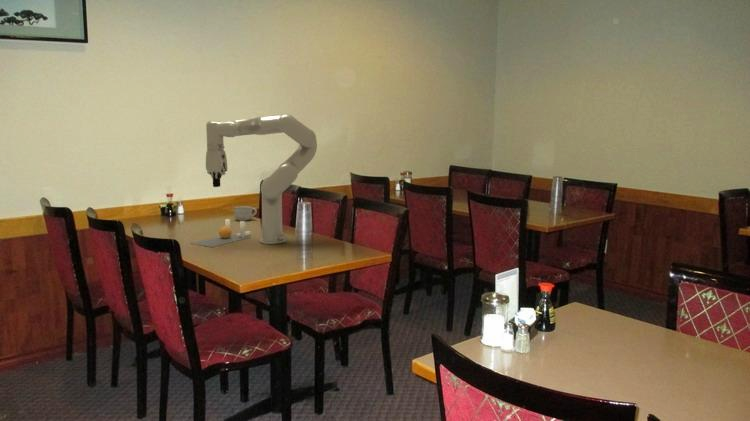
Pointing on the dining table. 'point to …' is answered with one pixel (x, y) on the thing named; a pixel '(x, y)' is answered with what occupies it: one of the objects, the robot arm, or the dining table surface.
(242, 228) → the back pin left
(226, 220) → the back pin right
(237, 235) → the front pin
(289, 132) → the robot arm
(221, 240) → the gray flat board
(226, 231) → the ball
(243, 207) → the teacup
